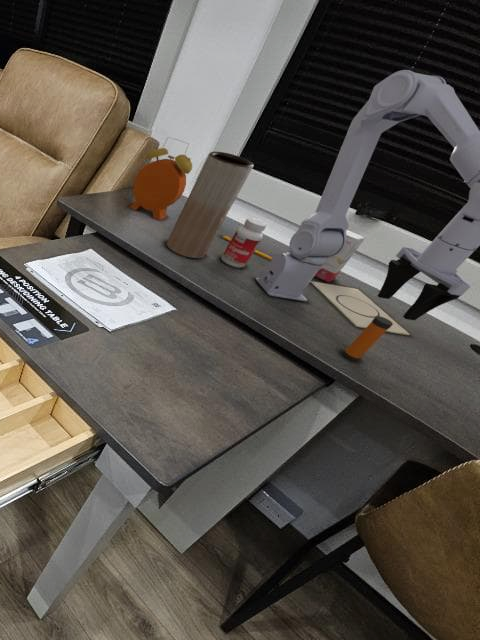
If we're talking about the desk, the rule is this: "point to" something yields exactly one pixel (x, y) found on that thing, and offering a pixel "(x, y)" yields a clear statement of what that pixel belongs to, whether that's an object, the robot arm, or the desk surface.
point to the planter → (208, 203)
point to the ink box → (340, 257)
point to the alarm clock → (160, 182)
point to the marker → (367, 338)
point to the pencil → (254, 251)
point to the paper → (355, 306)
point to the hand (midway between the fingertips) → (395, 307)
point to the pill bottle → (244, 243)
